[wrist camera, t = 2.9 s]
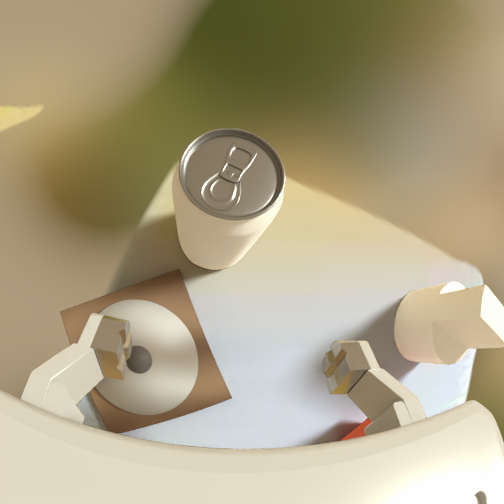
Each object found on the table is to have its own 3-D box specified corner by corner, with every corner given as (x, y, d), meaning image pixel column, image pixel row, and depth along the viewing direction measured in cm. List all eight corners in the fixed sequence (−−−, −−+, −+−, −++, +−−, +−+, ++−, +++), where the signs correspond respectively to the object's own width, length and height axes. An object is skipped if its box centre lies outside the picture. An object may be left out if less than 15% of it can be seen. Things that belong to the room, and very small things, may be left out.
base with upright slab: (445, 307, 29) (516, 295, 18) (426, 370, 27) (502, 375, 15) (407, 276, 29) (487, 253, 17) (383, 346, 26) (471, 350, 15)
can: (166, 252, 24) (146, 195, 12) (197, 193, 26) (206, 107, 14) (232, 282, 24) (268, 250, 13) (258, 221, 26) (307, 152, 15)
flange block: (230, 394, 22) (233, 399, 20) (113, 430, 18) (109, 437, 17) (179, 270, 23) (178, 267, 22) (64, 311, 20) (57, 311, 19)
